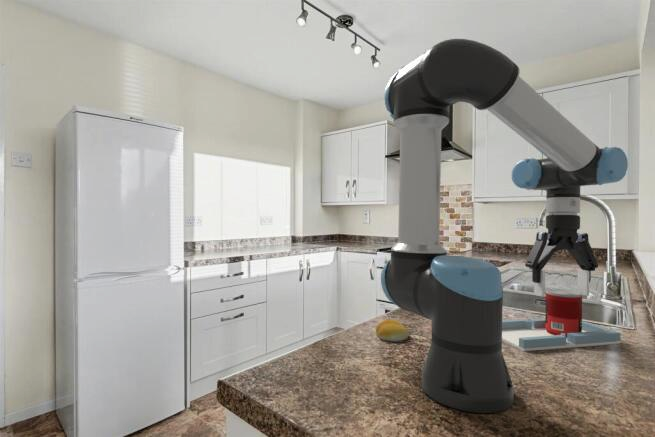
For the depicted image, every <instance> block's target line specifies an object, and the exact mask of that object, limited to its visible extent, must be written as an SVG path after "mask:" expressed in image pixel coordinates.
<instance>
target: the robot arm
mask: <svg viewBox="0 0 655 437" xmlns="http://www.w3.org/2000/svg"><path fill="white" fill-rule="evenodd" d="M520 72H521V71H520V67H519V66H518V65H517V64H516V63H515V62H514V61H513V60H512V59H510V58H509V57H508V56H507V55H506V54H504V53H503V52H501V51H500V50H497V49H495V48H493V47H492V46H490V45H488V44H485V43H484V42H478V41H475V40H472V39H467V38H451V39H445V40H442V41H440V42H438V43H436V44H435V45H433V46H432V47H430V48H429V49H428V50H427V51H425V52H424V53H422V54H421V55H420V56H418V57H417V58H415V59H414V60H412V61H411V62H409V63H407V64H405V65H403V66H402V67H400V68H399V69H398V70H397V71H396V73H395V74H394V75H393V76H391V78H390V79H389V81H388V83H387V84H386V87H385V90H384V105H385V109H386V110H387V112H389V116H390V117H391V118H392V120H393V126H394V128H395V129H396V130H398V131H399V133H400V134H399V136H400V138H399V139H400V140H399V177H398V178H399V180H398V181H399V183H398V185H399V186H398V187H399V189H398V231H397V232H398V234H397V235H398V237H397V242H395V244H394V245H393V246H392V247H391V249H390V258H389V259H388V260H387V261H386V264H384V265H383V267H382V269H381V275H380V284H381V289H382V291H383V293H384V295H385V297H386V298H387V300H388V301H390V302H391V303H392V304H393V305H394V306H397V307H398V308H399V309H401V310H403V311H405V312H408V313H409V312H410V313H412V314H414V315H416V316H417V315H418V316H420V317H422V318H425V319H428V320H430V321H431V343H430V346H429V350H428V353H427V356H426V358H425V362H424V364H423V367H422V370H421V388H422V390H423V391H424V393H425V394H426V395H427V396H428V397H429V398H431V399H433V400H434V401H436V402H437V403H439V404H442V405H443V406H446V407H449V408H452V409H455V410H459V411H462V412H463V411H464V412H467V413H468V412H469V413H477V414H491V413H492V414H494V413H499V412H502V411H505V410H507V409H509V408H511V406H512V405H513V403H514V394H515V393H514V384H513V382H512V379H511V376H510V375H511V374H510V373H509V370H508V366H507V363H506V360H505V358H504V354H503V348H502V347H503V341H502V320H503V297H504V296H503V295H504V288H503V282H502V274H501V271H500V269H499V267H497V266H496V264H493V263H491V262H490V261H488V260H487V261H486V260H483V259H479V258H476V257H472V256H462V255H454V254H453V255H452V254H451V255H450V254H447V253H448V252H447V249H446V248H445V247H444V246H443V245H442V244H441V243H440V233H441V232H440V228H441V226H440V222H441V177H442V176H441V171H442V169H441V168H442V167H441V166H442V165H441V164H442V130H443V129H445V127H447V125H449V124H450V106H453V105H454V104H457V103H467V104H470V105H471V106H473V107H474V108H475V109H477V110H478V111H486V110H487V111H488V112H489V113H490V114H492V115H493V116H495V117H496V118H497V119H498V120H500V121H501V122H502V123H504V124H505V125H506V126H508V127H509V128H510V129H511V130H512V131H513V132H515V133H516V134H517V135H519V137H521V138H522V139H524V141H526V142H527V143H528V144H530V146H532V147H534V148H535V149H536V150H537V151H538V152H540V153H541V154H542V155H544V156H545V157H546V158H541V159H537V158H533V157H532V158H522V159H520V160H519V161H517V162H516V163H515V164H514V166H513V167H512V170H511V181H512V182H513V184H514V185H515V186H516V187H517V188H520V189H524V190H528V191H529V190H532V191H533V190H534V191H536V190H537V191H546V199H545V200H546V202H545V203H546V204H545V213H547V214H548V215H546V216H545V228H546V229H547V232H545V231H543V232H542V231H538V232H537V233H536V236H535V242H534V244H533V246H532V248H531V250H530V253H529V255H528V257H527V259H526V262H525V264H524V266H525V267H526V268H529V270H532V273H531V274H532V275H531V276H532V277H531V281H532V283H533V295H535V296H538V297H545V296H546V289H545V288H546V287H545V286H546V270H543V269H544V268H545V266H546V265H547V263H548V262H549V261H550V259H551V258H552V257H553V256H554V254H555V253H556V252H558V251H559V250H560V251H564V250H565V251H567V252H569V254H570V255H571V257H572V258H573V260H574V261H575V262H576V264H577V265H578V266H579V268H580V269H577V292H579V293H581V294H582V296H587V297H589V296H590V283H591V280H592V279H591V278H592V277H591V276H592V272H595V271H596V269H597V268H599V263H598V262H597V259H596V257H595V253H594V251H593V249H592V247H591V244H590V241H589V234H588V233H587V232H586V233H585V232H584V233H583V232H578V231H579V230H580V228H581V216H580V215H578V214H580V213H581V187H582V186H583V187H584V186H585V187H586V186H597V185H598V186H602V185H605V184H607V185H608V184H611V183H617V182H620V181H622V180H623V179H624V178H625V176H626V175H627V171H628V168H629V162H628V158H627V155H626V152H625V151H624V150H623V149H621V148H620V147H617V146H611V147H607V146H606V147H603V148H600V147H599V146H598V145H596V143H594V142H593V141H592V140H591V139H590V138H589V137H588V136H586V135H585V134H584V133H583V132H582V131H581V130H580V129H579V128H577V126H576V125H574V124H573V123H572V122H570V120H568V118H566V117H565V116H564V115H563V114H562V113H561V112H560V111H558V110H557V109H556V108H555V107H554V106H553V105H552V104H551V103H549V101H547V100H546V98H544V97H543V96H542V95H541V94H539V92H537V90H535V89H534V88H533V87H532V86H530V85H529V84H528V83H527V82H526V81H525V80H524V79H523V78H521V76H520Z"/></svg>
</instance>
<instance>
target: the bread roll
mask: <svg viewBox="0 0 655 437" xmlns="http://www.w3.org/2000/svg"><path fill="white" fill-rule="evenodd" d="M375 333H376V335H377V336H378V338H379V339H380V340H383V341H388V342H402V341H405V340H407V339H408V337H409V330H408V329H407V327H406V326H404V325H403V323H401V322H400V321H398V320H395V319H384V320H383V321H380V322H379V323H378V324H376V326H375Z"/></svg>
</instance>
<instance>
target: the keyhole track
mask: <svg viewBox="0 0 655 437" xmlns="http://www.w3.org/2000/svg"><path fill="white" fill-rule="evenodd" d="M621 340H622V339H621V332H619V331H616V330H612V329H609V328H605V327H602V326H599V325H596V324H593V323H589V322H588V321H583V320H582V332H578V333H567V338H566V334H565V333H561V335H552V334H550V333H548V332H547V331H546V328H545V317H541V318H540V317H537V318H528V319H527V320H526V319H525V320H522V319H505V320H503V319H502V342H504V343H505V344H506V343H507V344H508V345H511V347H514V348H516V349H518V350H520V351H523V352H531V351H532V352H533V351H541V350H542V351H544V350H555V349H568V348H569V349H570V348H578V347H579V348H580V347H593V346H605V345H606V346H607V345H618V344H621V342H622V341H621Z"/></svg>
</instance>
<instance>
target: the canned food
mask: <svg viewBox="0 0 655 437" xmlns="http://www.w3.org/2000/svg"><path fill="white" fill-rule="evenodd" d="M544 297H545V304H544V305H545V317H544V318H545V328H546V331H547V332H548V333H550V334H552V335H561V333H565V334H566V338H567V333H578V332H582V321H583V295H582V294H581V293H579V292H578V291H577V290H570V289H560V288H548V289H545V296H544Z"/></svg>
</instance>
